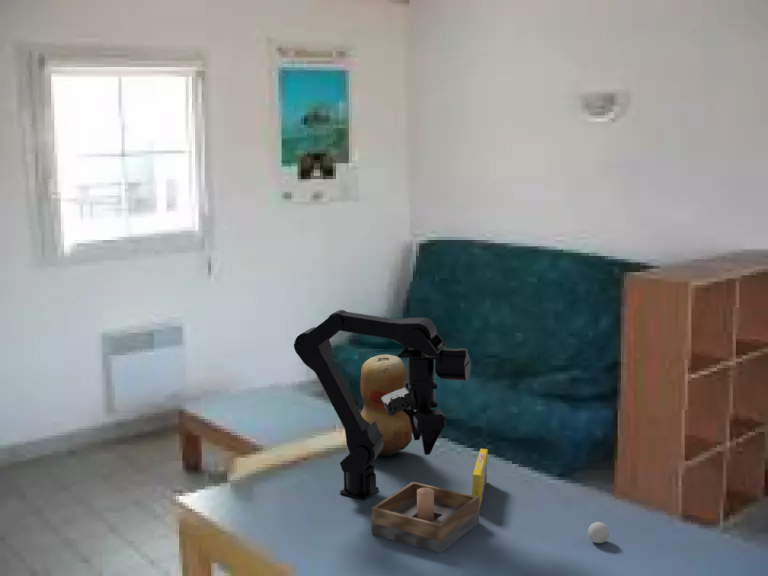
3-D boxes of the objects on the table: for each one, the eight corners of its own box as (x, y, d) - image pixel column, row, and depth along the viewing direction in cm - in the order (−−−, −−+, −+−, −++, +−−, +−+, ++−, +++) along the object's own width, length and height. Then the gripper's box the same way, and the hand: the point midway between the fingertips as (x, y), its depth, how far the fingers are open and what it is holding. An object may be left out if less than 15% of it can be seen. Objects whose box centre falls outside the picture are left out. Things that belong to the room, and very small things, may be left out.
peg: (414, 529, 185) (413, 492, 184) (422, 523, 188) (422, 486, 186) (428, 533, 183) (428, 495, 182) (437, 526, 186) (436, 489, 184)
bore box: (371, 533, 183) (371, 508, 182) (412, 505, 196) (412, 481, 195) (440, 553, 175) (440, 526, 174) (479, 522, 188) (479, 497, 187)
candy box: (481, 512, 193) (481, 475, 191) (471, 511, 193) (471, 474, 192) (488, 482, 208) (488, 448, 207) (478, 482, 209) (478, 447, 207)
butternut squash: (352, 462, 222) (350, 363, 217) (363, 443, 235) (360, 349, 230) (409, 465, 219) (408, 364, 215) (416, 445, 232) (415, 350, 228)
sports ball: (605, 548, 175) (605, 529, 175) (584, 543, 177) (585, 524, 177) (611, 540, 179) (612, 521, 178) (591, 535, 181) (592, 517, 180)
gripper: (375, 368, 202) (376, 436, 205) (393, 392, 184) (394, 466, 187) (424, 365, 204) (425, 431, 207) (447, 388, 186) (447, 461, 189)
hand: (421, 447), depth 197 cm, fingers open, 9 cm apart
